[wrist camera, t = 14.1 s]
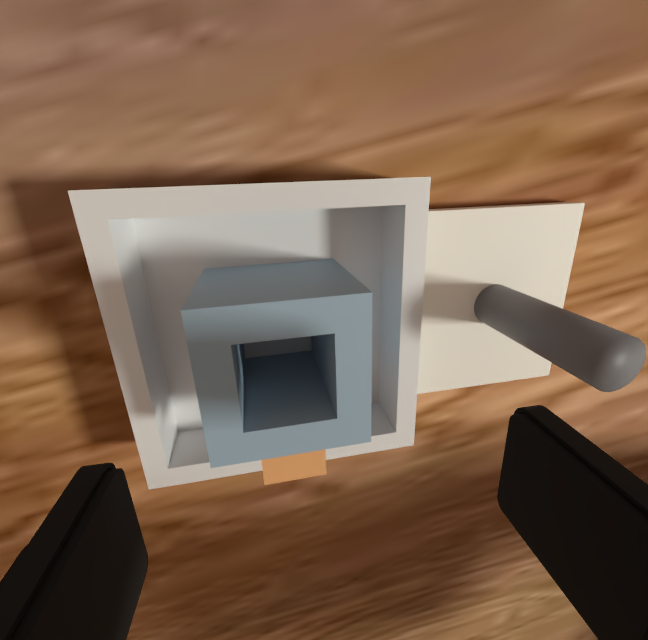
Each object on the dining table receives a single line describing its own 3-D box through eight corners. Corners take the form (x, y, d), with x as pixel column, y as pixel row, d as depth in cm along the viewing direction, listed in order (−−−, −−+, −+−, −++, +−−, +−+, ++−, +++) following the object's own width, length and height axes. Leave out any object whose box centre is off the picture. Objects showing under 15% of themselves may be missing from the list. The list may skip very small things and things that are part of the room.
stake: (534, 366, 23) (678, 456, 15) (401, 384, 22) (486, 495, 14) (565, 202, 19) (774, 211, 12) (409, 210, 18) (529, 228, 10)
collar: (333, 258, 17) (372, 292, 12) (337, 388, 20) (370, 466, 14) (204, 268, 16) (180, 310, 11) (225, 403, 19) (215, 493, 13)
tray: (389, 407, 22) (413, 445, 19) (165, 440, 20) (148, 489, 17) (397, 178, 17) (430, 176, 14) (106, 189, 15) (67, 190, 12)
